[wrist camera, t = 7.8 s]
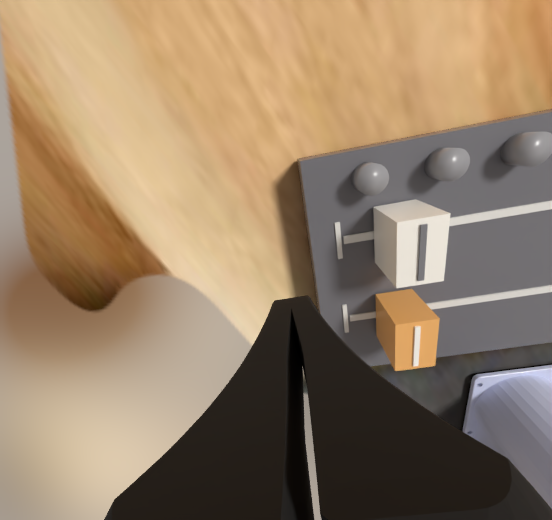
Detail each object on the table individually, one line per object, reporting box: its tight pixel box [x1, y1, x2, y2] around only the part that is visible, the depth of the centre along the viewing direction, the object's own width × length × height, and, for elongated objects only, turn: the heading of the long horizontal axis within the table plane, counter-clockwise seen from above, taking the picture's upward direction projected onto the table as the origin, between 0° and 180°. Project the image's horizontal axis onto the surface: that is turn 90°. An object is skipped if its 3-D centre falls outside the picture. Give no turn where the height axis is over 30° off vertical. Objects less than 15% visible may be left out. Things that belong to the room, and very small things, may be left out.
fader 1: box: [373, 199, 451, 288], centre depth 14 cm, size 4×2×3 cm, turn 10°
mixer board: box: [297, 109, 552, 366], centre depth 17 cm, size 16×19×3 cm
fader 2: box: [375, 289, 440, 371], centre depth 16 cm, size 4×2×3 cm, turn 10°
